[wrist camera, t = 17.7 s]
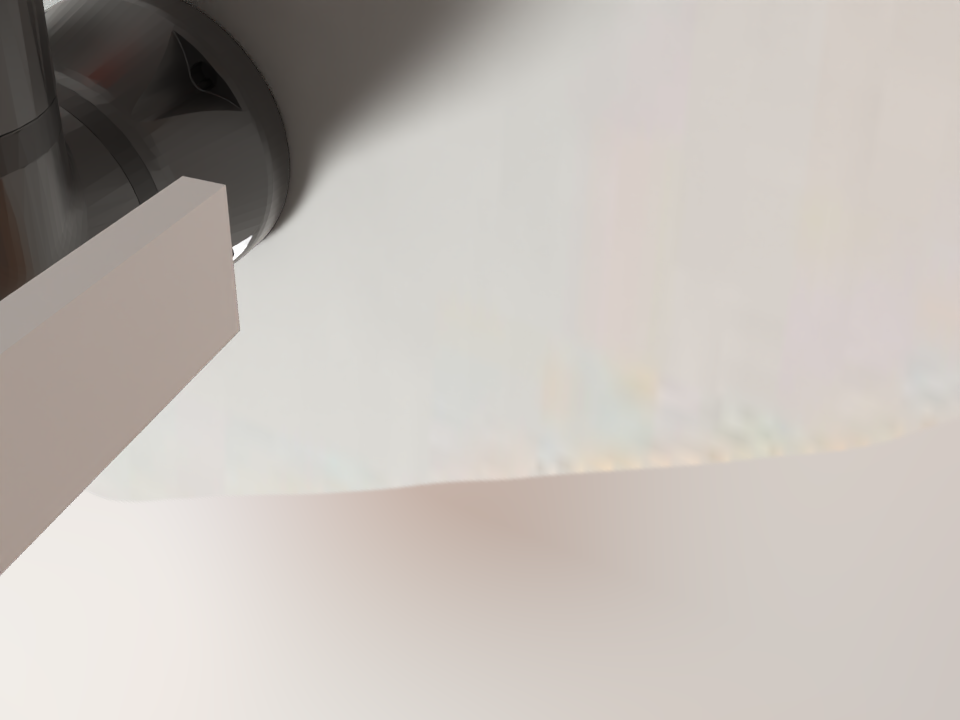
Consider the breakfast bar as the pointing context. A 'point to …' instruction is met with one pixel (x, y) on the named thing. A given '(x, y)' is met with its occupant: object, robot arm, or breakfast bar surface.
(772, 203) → the breakfast bar surface
